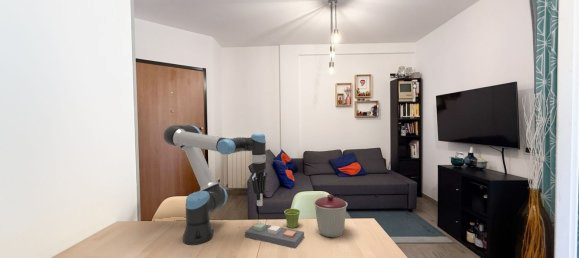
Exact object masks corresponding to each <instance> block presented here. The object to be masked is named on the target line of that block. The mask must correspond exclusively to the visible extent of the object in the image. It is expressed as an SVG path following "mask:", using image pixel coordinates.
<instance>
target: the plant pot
mask: <svg viewBox="0 0 579 258" xmlns="http://www.w3.org/2000/svg"><path fill="white" fill-rule="evenodd" d="M283 212H284V213H283V214H284V215H285V220H286V227H288V229H295V228H297V227H298V226H299V218H300V217H299V216H300V214H301V210H300V209H297V208H288V209H285V210H284V211H283Z"/></svg>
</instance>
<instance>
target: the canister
mask: <svg viewBox="0 0 579 258" xmlns="http://www.w3.org/2000/svg"><path fill="white" fill-rule="evenodd" d="M313 205H314V208H315V215H316V222H317V229H318V232H319V233H320V234H321V235H322V236H324V237H327V238H337V237H340V236H342V235H343V233H344V230H345V225H346V224H345V222H346V216H347V215H346V214H347V207H348V201H345V199H342V198H339V197H335V196H334V195H333V194H327V196H324V197H323V196H322V197H319V198H318V199H316V200H314V202H313Z"/></svg>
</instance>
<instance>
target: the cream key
mask: <svg viewBox="0 0 579 258" xmlns="http://www.w3.org/2000/svg"><path fill="white" fill-rule="evenodd" d="M281 228H282V227H281V226H278V225H271V227H270V228H268V233H270V234H275V235H277V234H278V233H279V232H280V231H281Z"/></svg>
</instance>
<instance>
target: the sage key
mask: <svg viewBox="0 0 579 258" xmlns="http://www.w3.org/2000/svg"><path fill="white" fill-rule="evenodd" d="M255 224H256V225H255ZM255 224H253V225H252V226H253V230H255V231H260V232H262V231H263V230H264V229H266V225H267V224H266V223H262V222H256V223H255Z"/></svg>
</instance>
